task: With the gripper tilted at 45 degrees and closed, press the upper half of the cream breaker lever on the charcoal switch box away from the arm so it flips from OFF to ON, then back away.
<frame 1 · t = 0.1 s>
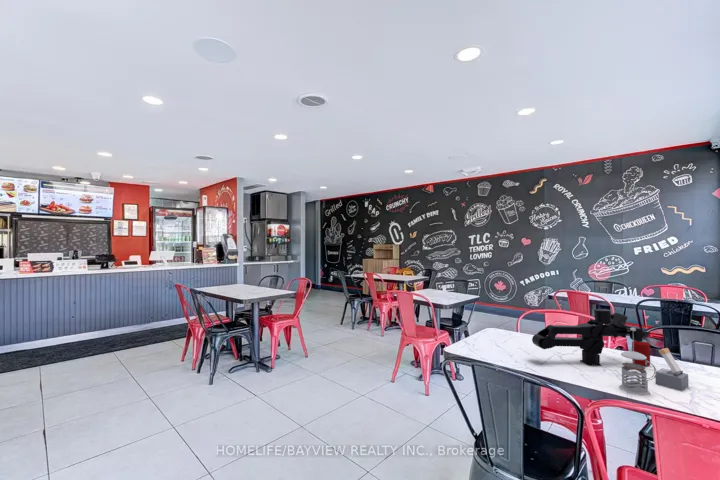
hand: (641, 330, 159), 17 cm above the table, tool horizontal, fingers open, 9 cm apart
french press: (637, 391, 128), on the table
beverage can: (641, 364, 159), on the table
switch box: (678, 386, 132), on the table
breaker lever: (670, 361, 134), point 10 cm above the table, hinge at -28.0°
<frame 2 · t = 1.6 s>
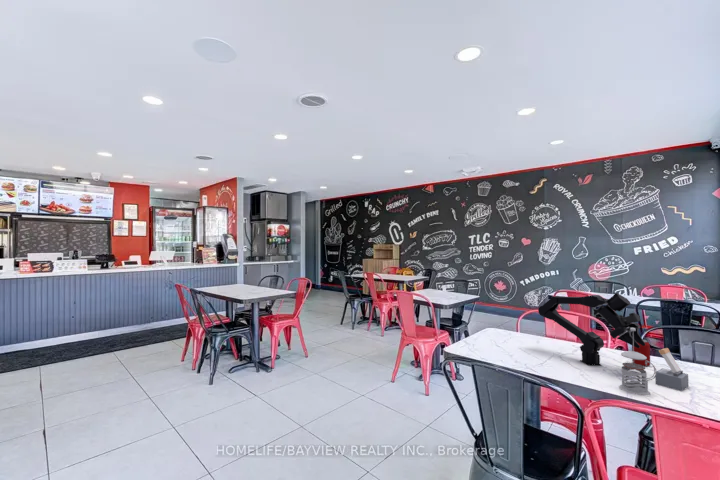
hand: (642, 346, 143), 14 cm above the table, tool tilted 45°, fingers open, 6 cm apart
nothing on the table moved.
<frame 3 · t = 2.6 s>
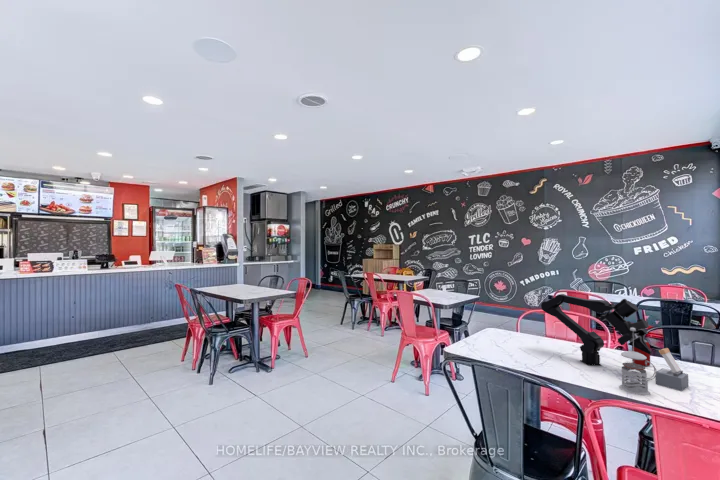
hand: (650, 353, 140), 11 cm above the table, tool tilted 45°, fingers closed
nothing on the table moved.
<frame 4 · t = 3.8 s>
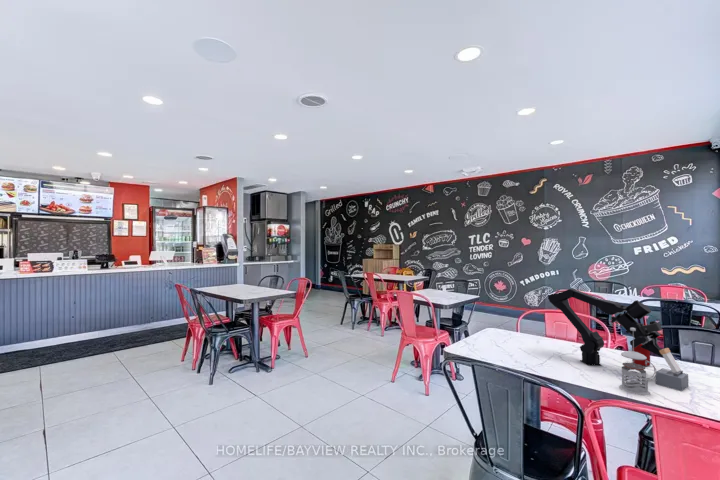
hand: (663, 356, 136), 11 cm above the table, tool tilted 45°, fingers closed, pressing on breaker lever
breaker lever: (671, 361, 134), point 10 cm above the table, hinge at -26.9°, touching gripper
everything else where it was.
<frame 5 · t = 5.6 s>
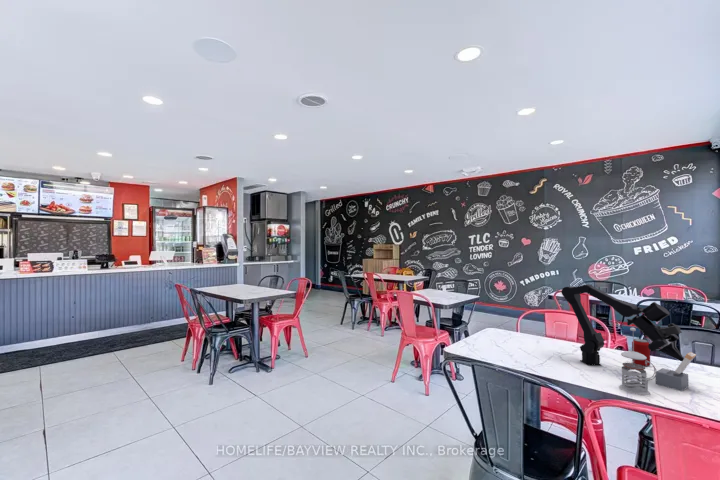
hand: (683, 360, 131), 11 cm above the table, tool tilted 45°, fingers closed, pressing on breaker lever
breaker lever: (684, 364, 131), point 10 cm above the table, hinge at 25.7°, touching gripper
everything else where it was.
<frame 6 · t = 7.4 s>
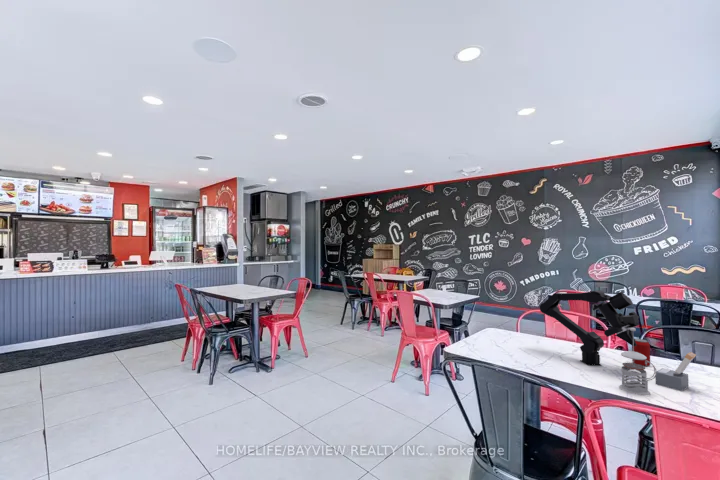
hand: (635, 346, 145), 13 cm above the table, tool tilted 35°, fingers closed
breaker lever: (684, 364, 131), point 10 cm above the table, hinge at 25.8°
everything else where it was.
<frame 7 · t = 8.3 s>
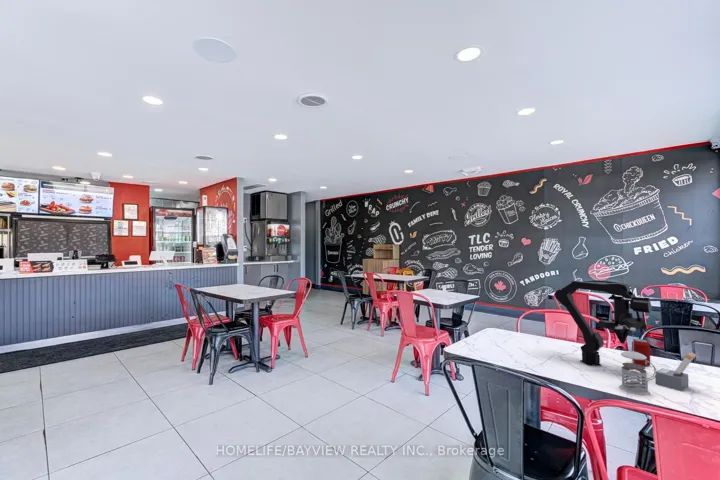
hand: (622, 343, 150), 13 cm above the table, tool pointing down, fingers closed
nothing on the table moved.
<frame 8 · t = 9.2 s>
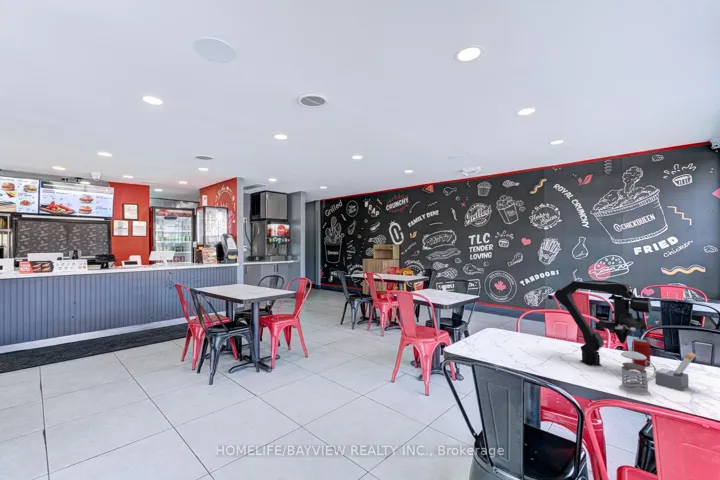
hand: (622, 343, 150), 13 cm above the table, tool pointing down, fingers closed
nothing on the table moved.
at the end: breaker lever at +26° (first picture: -28°); beverage can moved 0.2 cm from its start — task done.
